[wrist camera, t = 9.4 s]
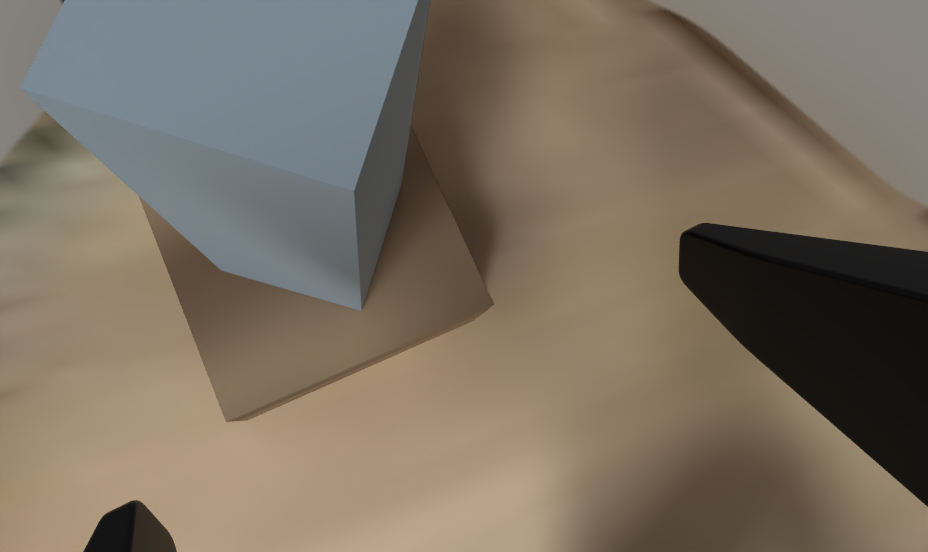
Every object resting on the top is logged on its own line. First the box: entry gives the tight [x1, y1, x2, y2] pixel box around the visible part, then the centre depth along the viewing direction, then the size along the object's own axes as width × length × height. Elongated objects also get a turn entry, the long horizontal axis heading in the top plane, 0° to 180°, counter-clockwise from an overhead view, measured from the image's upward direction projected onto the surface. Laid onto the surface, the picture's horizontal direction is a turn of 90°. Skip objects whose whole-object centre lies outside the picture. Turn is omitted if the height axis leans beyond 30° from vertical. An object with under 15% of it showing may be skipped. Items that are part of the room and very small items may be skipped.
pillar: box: [20, 0, 430, 311], centre depth 14 cm, size 4×4×11 cm
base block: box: [139, 126, 494, 422], centre depth 21 cm, size 9×9×4 cm
